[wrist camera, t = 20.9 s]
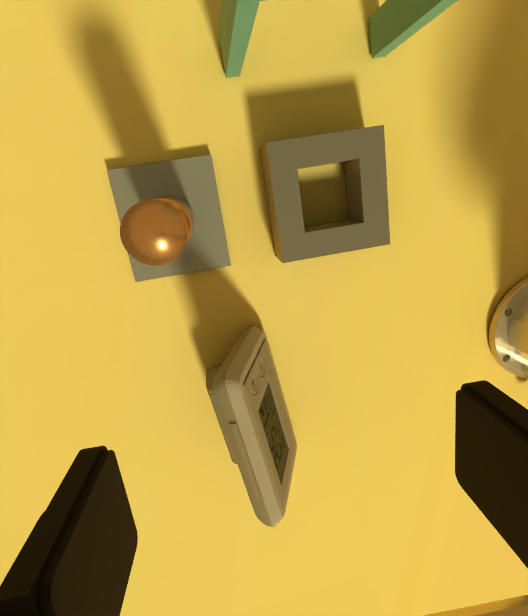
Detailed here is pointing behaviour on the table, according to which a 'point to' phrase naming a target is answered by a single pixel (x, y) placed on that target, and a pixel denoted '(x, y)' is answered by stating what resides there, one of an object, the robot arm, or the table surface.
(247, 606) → the table surface
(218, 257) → the mat
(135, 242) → the cylinder
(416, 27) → the green arch
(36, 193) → the table surface
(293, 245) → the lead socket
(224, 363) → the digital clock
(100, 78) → the table surface
